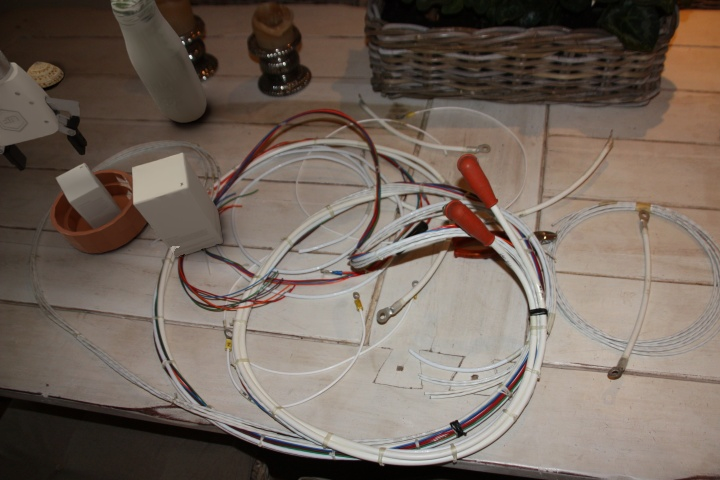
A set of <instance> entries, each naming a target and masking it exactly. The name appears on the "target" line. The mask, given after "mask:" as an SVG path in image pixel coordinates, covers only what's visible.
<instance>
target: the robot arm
mask: <svg viewBox="0 0 720 480" xmlns="http://www.w3.org/2000/svg"><path fill="white" fill-rule="evenodd" d="M61 111H64V112H68V113H70V116H67V115H64V114H62V113H61ZM80 124H81V103H80V102H79V101H77V100H71V99H63V98H56V97H50V95H48V93H47V92H46V91H45V90H44V88H41V87H40V86H39V85H38V83H37V82H36V81H35V80H34V79H33V78H32V77H31V76H30V75H29V74H27V71H25V70H24V69H23V68H22V67H21V66H20V65H19V64H17V63H16V62H10V60H9V59H8V58H7V57H6V55H5V54H4V53H3V51H2V50H1V49H0V155H2V156H4V158H5V159H6V160H7V161H8V162H9V163H10V164H11V165H12V166H15V167H16V168H17V170H19V171H20V172H22V171H25V170H26V167H27V160H28V158H27V156H26V155H25V153H23V151H22V150H21V149H20V148H19V147H18V146H17V145H16V144H18V143H25V142H28V141H32V140H36V139H39V138H44V137H47V136H50V135H54V134H55V133H57V132H60V133H62V134H65V135H66V139H67V141H68V142H69V143H70V145H71V146H72V147H73V148H74V149H75V151H76V152H77V153H78V155H79V156H85V155H86V147H87V146H88V141H87V139H86V137H85V136H84V135H83V134H82V132H81V130H79V128H78V127H79V125H80Z"/></svg>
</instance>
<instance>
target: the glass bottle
mask: <svg viewBox="0 0 720 480" xmlns="http://www.w3.org/2000/svg"><path fill="white" fill-rule="evenodd" d="M110 5H111V10H112V13H113V15H114V18H115V20H116V21H117V23H118V24H119V28H120V30H121V33H122V37H123V39H124V44H125V48H126V51H127V56H128V59H129V61H130V63H131V65H132V67H133V68H134V70H135V72H136V73H137V75H138V77H139V79H140V80H141V83H142V84H143V86H144V87H145V89H146V90H147V92H148V93H149V96H150V97H151V98H152V100H153V102H154V104H155V105H156V107H157V108H158V109H159V111H160V112H161V113H162V114H163V115H164V116H165V117H166V118H168V119H170V120H172V121H174V122H177V123H191V122H193V121H196V120H198V119H199V118H201V117H202V116H203V115H204V114H205V112H206V110H207V104H208V103H207V95H206V92H205V89H204V86H203V84H202V81H201V79H200V77H199V75H198V73H197V71H196V69H195V66H194V64H193V62H192V59H191V57H190V55H189V52H188V50H187V48H186V46H185V44H184V43H183V40H182V39H181V38H180V36H179V35H178V34H177V32H176V31H175V30H174V29H173V27H172V26H171V24H170V23H169V22H168V21H167V20H166V18H165V17H164V15H163V14H162V13H161V11H160V10H159V7H158V6H157V3H156V1H155V0H110Z"/></svg>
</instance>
